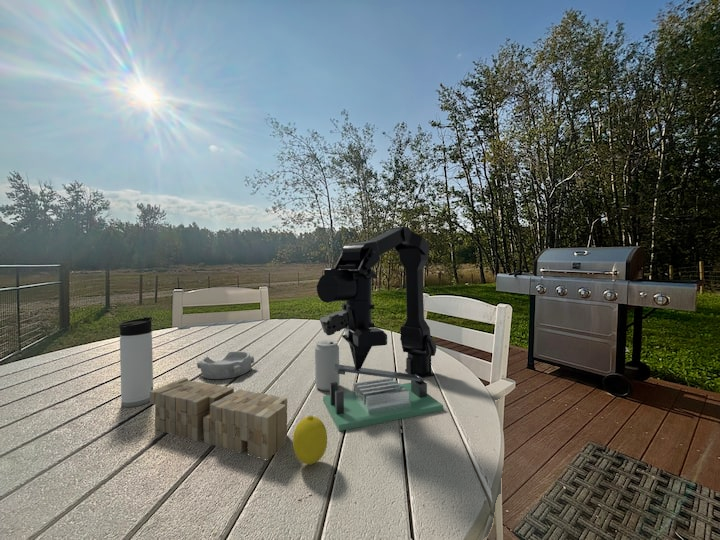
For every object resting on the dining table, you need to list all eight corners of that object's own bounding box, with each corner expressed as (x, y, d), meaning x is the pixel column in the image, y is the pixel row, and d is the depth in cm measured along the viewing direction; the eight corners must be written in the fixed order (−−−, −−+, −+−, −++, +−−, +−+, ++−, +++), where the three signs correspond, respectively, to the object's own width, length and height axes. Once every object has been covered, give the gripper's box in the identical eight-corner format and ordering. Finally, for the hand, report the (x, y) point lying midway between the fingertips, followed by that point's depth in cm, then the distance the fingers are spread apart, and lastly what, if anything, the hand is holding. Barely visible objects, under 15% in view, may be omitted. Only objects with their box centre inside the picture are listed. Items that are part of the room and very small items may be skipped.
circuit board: (411, 386, 81) (411, 382, 81) (443, 410, 68) (443, 404, 68) (323, 401, 73) (323, 396, 73) (338, 431, 60) (338, 425, 60)
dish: (190, 377, 90) (190, 361, 90) (227, 363, 103) (227, 348, 103) (228, 384, 84) (228, 366, 84) (262, 368, 97) (261, 353, 97)
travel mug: (160, 397, 76) (159, 317, 76) (133, 409, 70) (131, 322, 70) (142, 394, 78) (141, 316, 78) (114, 405, 72) (112, 320, 72)
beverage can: (335, 392, 78) (335, 346, 78) (311, 391, 79) (311, 344, 79) (342, 383, 84) (341, 339, 84) (320, 381, 85) (319, 339, 85)
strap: (416, 380, 75) (417, 374, 75) (423, 384, 72) (424, 378, 72) (334, 369, 68) (335, 363, 68) (337, 373, 65) (339, 367, 65)
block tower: (293, 443, 58) (184, 411, 69) (294, 399, 58) (185, 374, 69) (266, 468, 51) (149, 428, 62) (267, 418, 50) (149, 387, 61)
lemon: (298, 480, 46) (298, 428, 46) (289, 459, 51) (288, 412, 51) (332, 468, 49) (332, 419, 49) (320, 450, 54) (320, 405, 54)
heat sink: (412, 385, 79) (412, 368, 79) (434, 401, 69) (433, 381, 69) (327, 399, 71) (327, 379, 71) (339, 419, 62) (339, 397, 62)
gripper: (315, 296, 74) (314, 360, 75) (334, 305, 57) (333, 388, 57) (358, 295, 78) (357, 356, 78) (388, 303, 61) (387, 381, 61)
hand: (358, 368), depth 68 cm, fingers closed, pressing on strap
